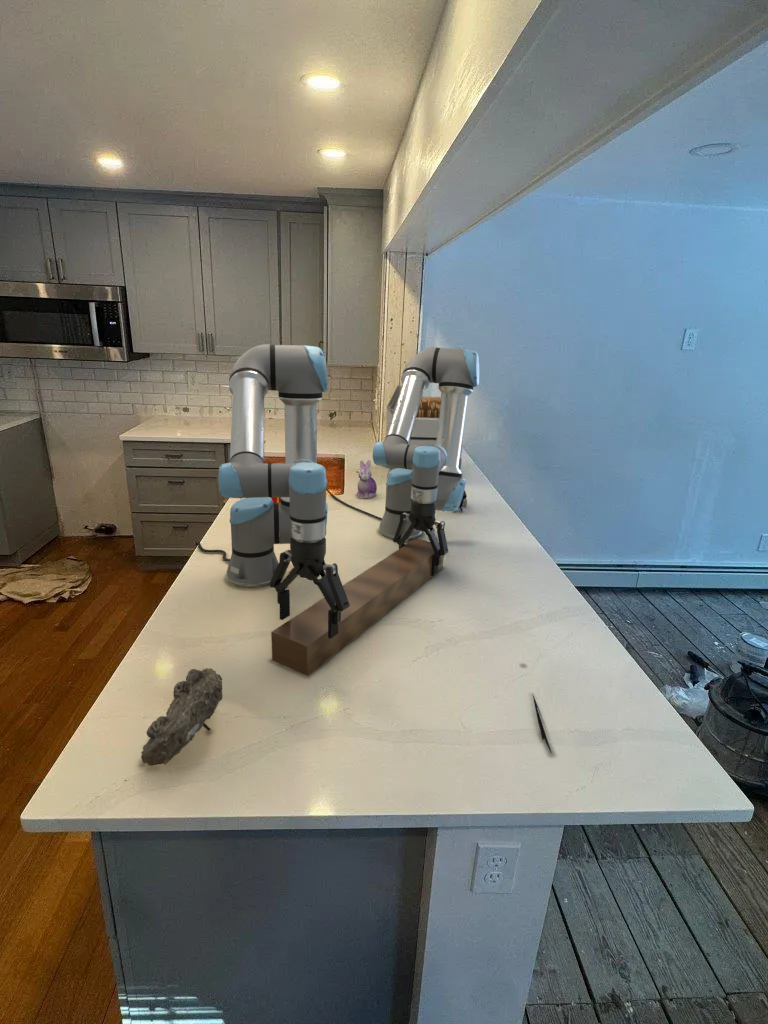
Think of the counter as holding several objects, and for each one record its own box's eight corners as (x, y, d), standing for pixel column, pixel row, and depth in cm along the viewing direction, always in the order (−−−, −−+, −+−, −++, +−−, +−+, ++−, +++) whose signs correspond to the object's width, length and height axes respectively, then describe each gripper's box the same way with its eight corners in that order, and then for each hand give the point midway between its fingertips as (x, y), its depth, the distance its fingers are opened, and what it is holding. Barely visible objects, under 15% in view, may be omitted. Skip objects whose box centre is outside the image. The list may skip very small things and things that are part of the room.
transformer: (382, 463, 289) (386, 382, 275) (445, 464, 293) (451, 384, 279) (390, 482, 257) (394, 392, 243) (460, 483, 261) (468, 394, 247)
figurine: (361, 500, 232) (362, 464, 227) (351, 492, 241) (352, 458, 236) (382, 497, 237) (383, 462, 232) (371, 490, 245) (372, 456, 240)
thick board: (414, 559, 180) (415, 538, 177) (442, 567, 175) (444, 545, 173) (272, 660, 126) (271, 631, 123) (307, 676, 121) (307, 646, 119)
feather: (523, 669, 129) (529, 663, 128) (551, 758, 102) (558, 750, 101) (517, 665, 128) (523, 659, 128) (543, 753, 102) (550, 746, 101)
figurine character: (467, 516, 223) (461, 500, 237) (469, 499, 220) (463, 483, 233) (450, 516, 223) (446, 499, 236) (452, 498, 220) (447, 483, 233)
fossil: (171, 669, 114) (224, 637, 109) (205, 700, 117) (257, 670, 112) (115, 759, 95) (175, 724, 90) (157, 793, 97) (218, 762, 92)
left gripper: (251, 529, 122) (254, 616, 129) (346, 556, 110) (344, 651, 117) (275, 520, 128) (277, 604, 135) (367, 545, 116) (364, 635, 123)
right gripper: (383, 495, 167) (380, 564, 174) (453, 511, 156) (446, 584, 163) (396, 489, 173) (392, 556, 180) (464, 504, 162) (457, 575, 170)
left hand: (308, 626), depth 126 cm, fingers open, 13 cm apart
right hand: (418, 569), depth 172 cm, fingers closed on thick board, 10 cm apart
